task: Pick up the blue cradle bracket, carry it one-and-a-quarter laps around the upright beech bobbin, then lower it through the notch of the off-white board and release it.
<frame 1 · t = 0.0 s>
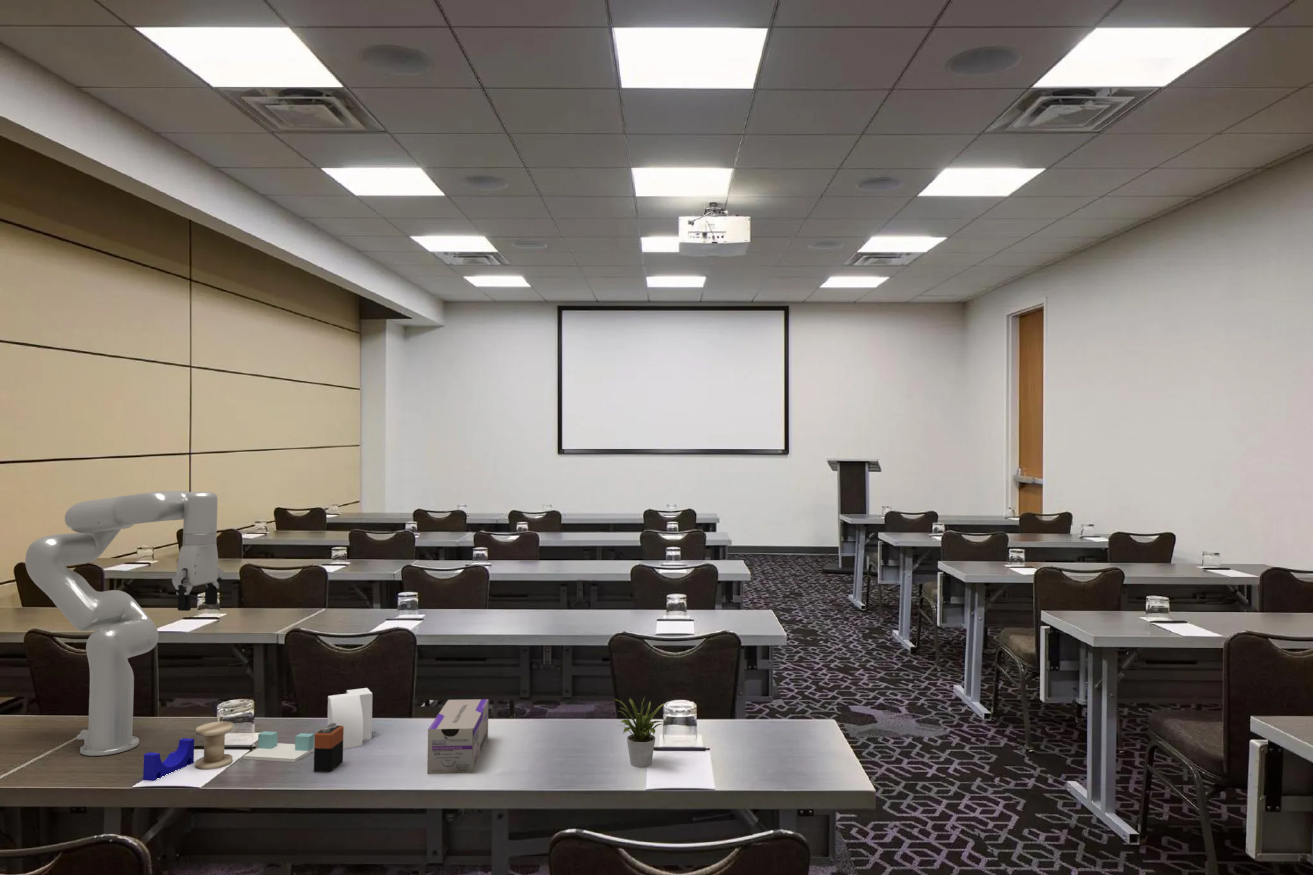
hand: (197, 607, 207), 37 cm above the table, fingers open, 9 cm apart
surgical sutures box: (459, 756, 204), on the table
battery: (328, 768, 196), on the table
bobbin: (213, 763, 198), on the table
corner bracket: (349, 741, 215), on the table
house plant: (635, 764, 199), on the table
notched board: (281, 753, 205), on the table
blue cradle bracket: (166, 772, 193), on the table
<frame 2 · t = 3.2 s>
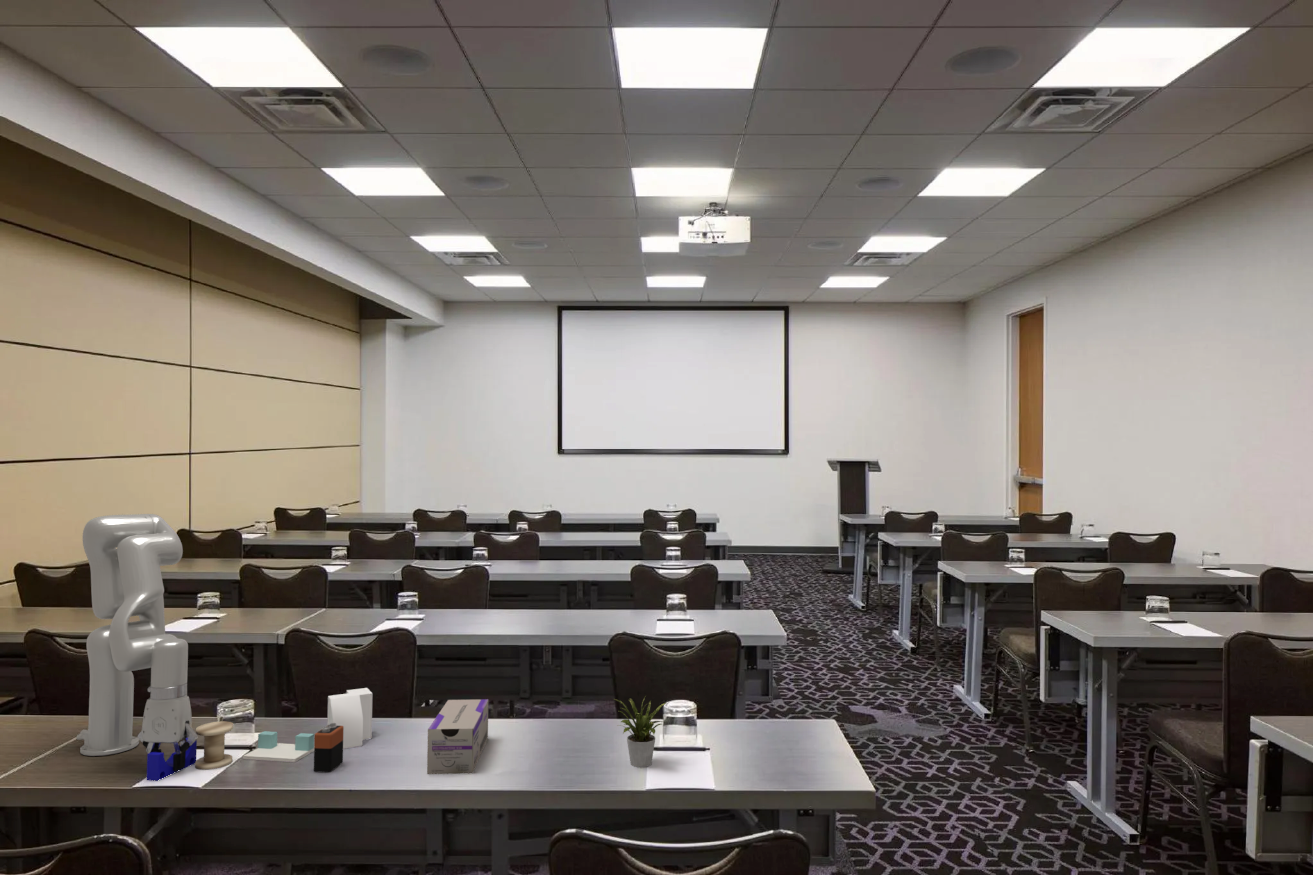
hand: (166, 767, 193), 1 cm above the table, fingers open, 5 cm apart
nothing on the table moved.
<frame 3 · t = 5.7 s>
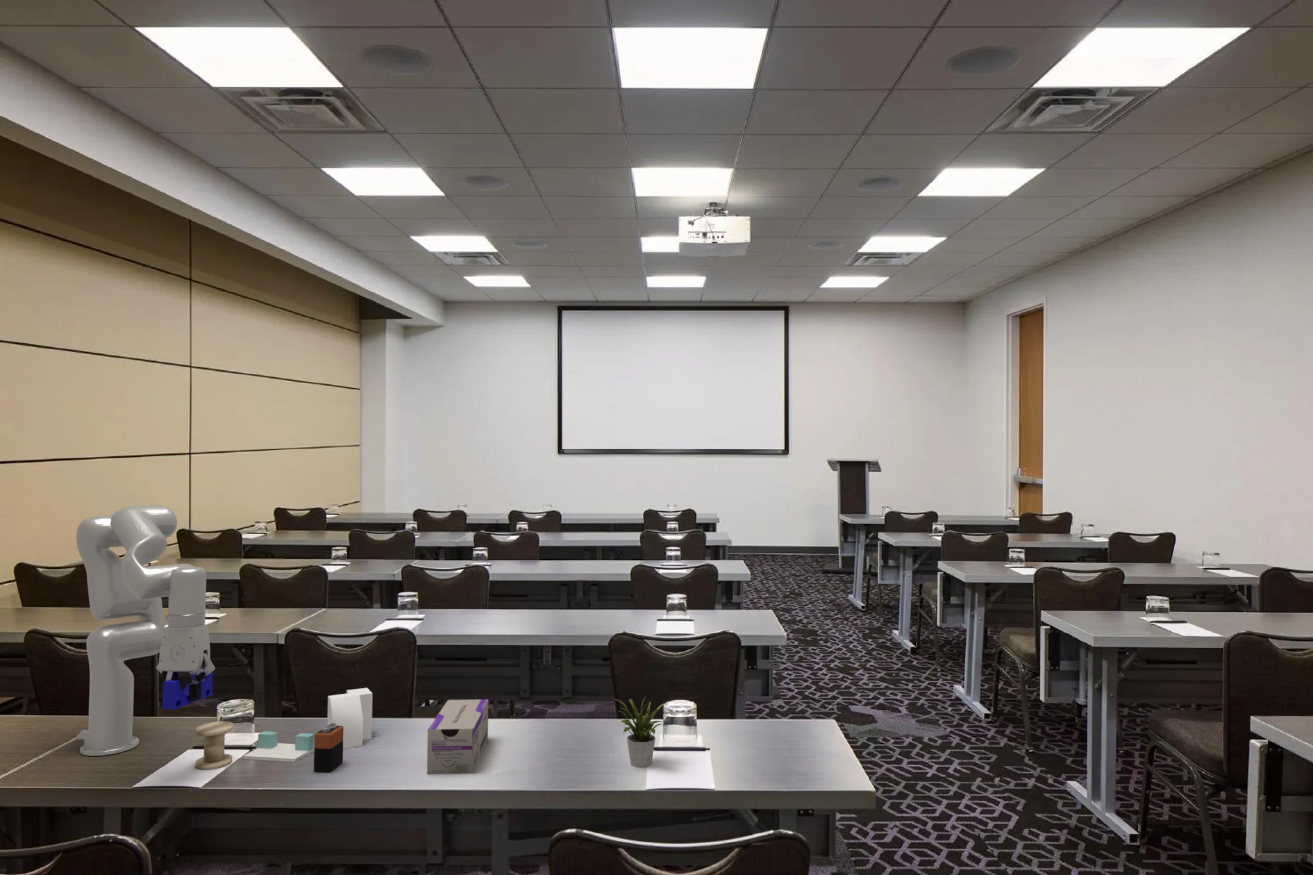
hand: (184, 698, 188), 19 cm above the table, fingers closed on blue cradle bracket, 4 cm apart
blue cradle bracket: (185, 702, 188), point 18 cm above the table, touching gripper
everything else where it was.
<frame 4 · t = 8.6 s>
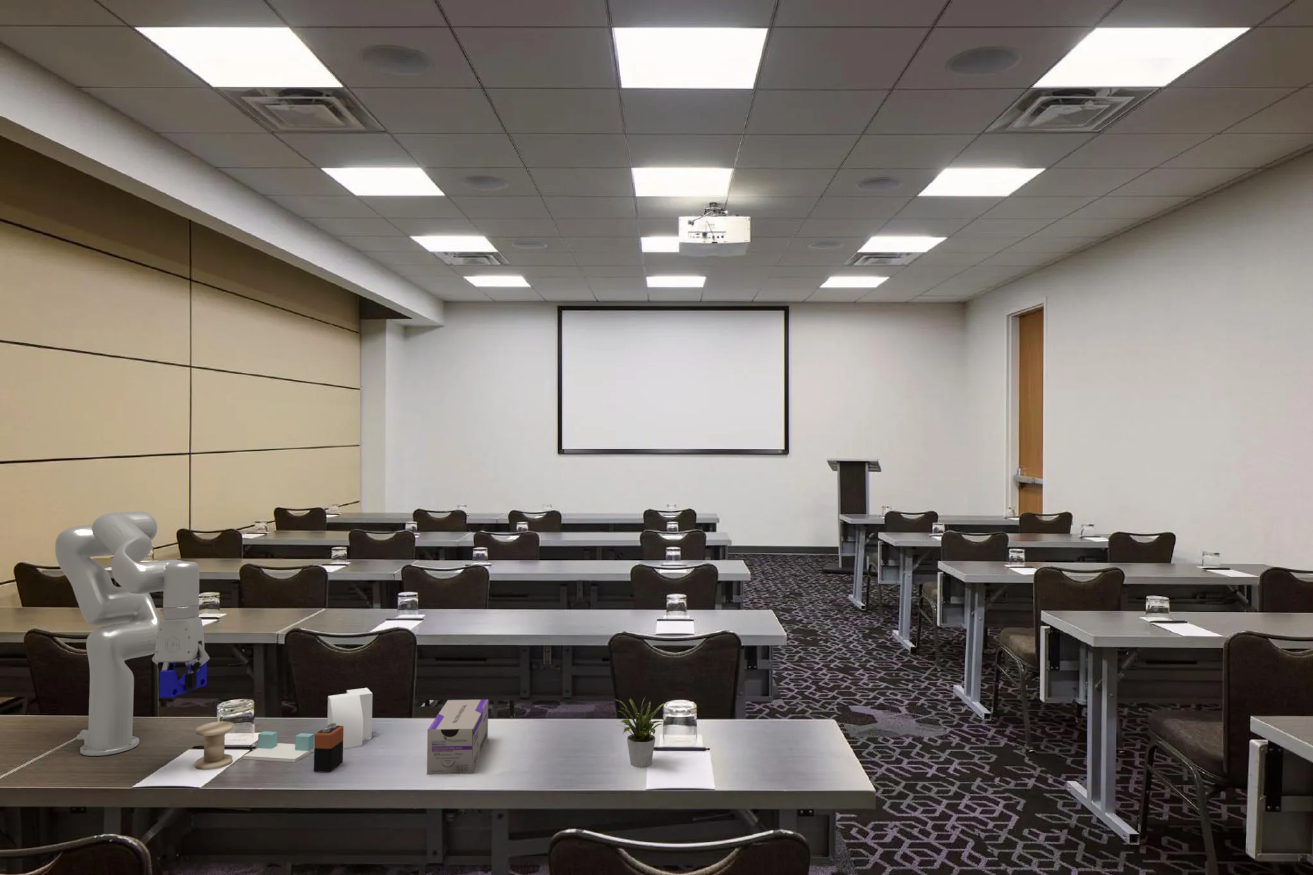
hand: (180, 688, 195), 19 cm above the table, fingers closed on blue cradle bracket, 4 cm apart
blue cradle bracket: (180, 691, 196), point 18 cm above the table, touching gripper
everything else where it was.
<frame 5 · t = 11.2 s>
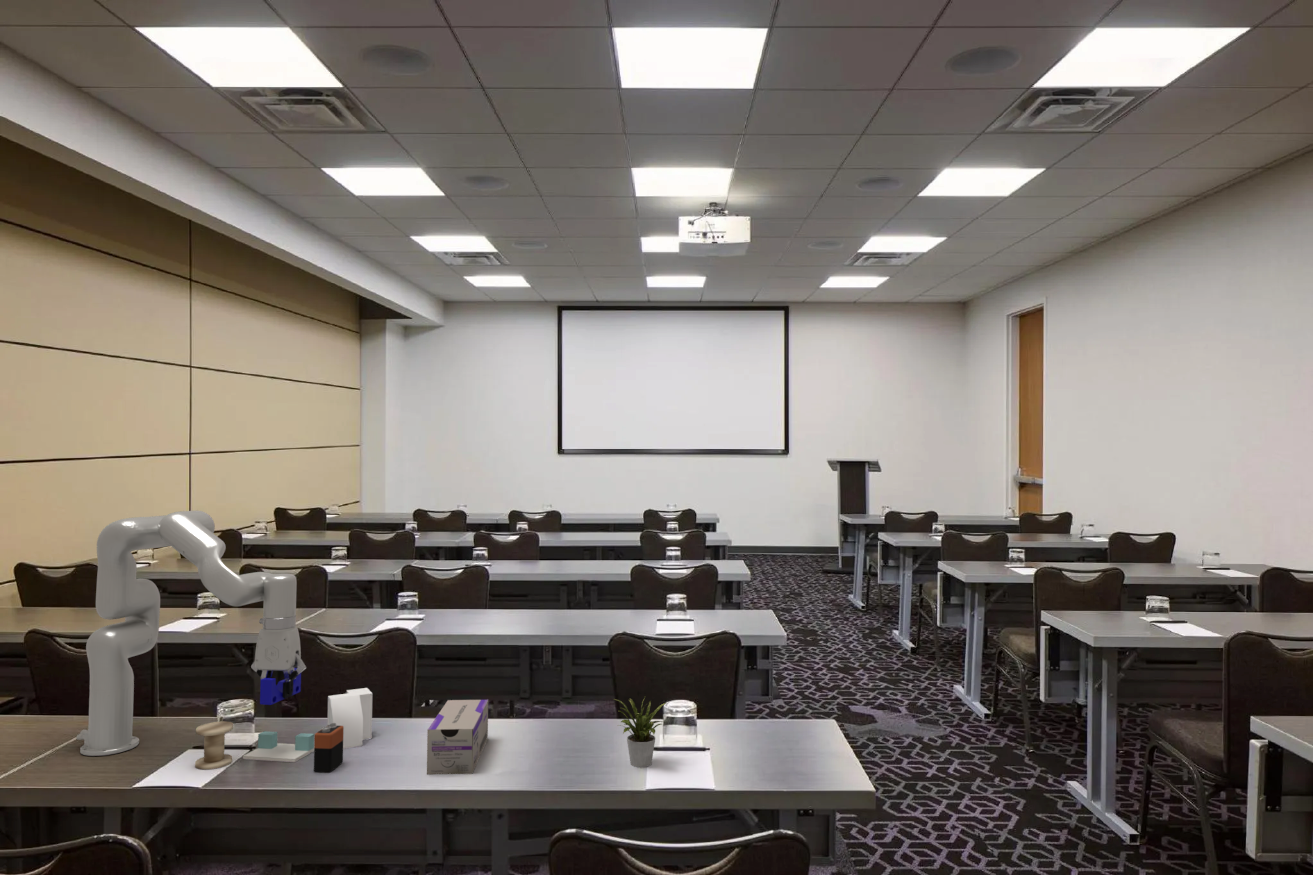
hand: (277, 695, 204), 15 cm above the table, fingers closed on blue cradle bracket, 4 cm apart
blue cradle bracket: (278, 698, 204), point 14 cm above the table, touching gripper
everything else where it was.
when the fingers open (2 cm above the table, at t = 13.7 s): blue cradle bracket drops 1 cm, resting on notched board.
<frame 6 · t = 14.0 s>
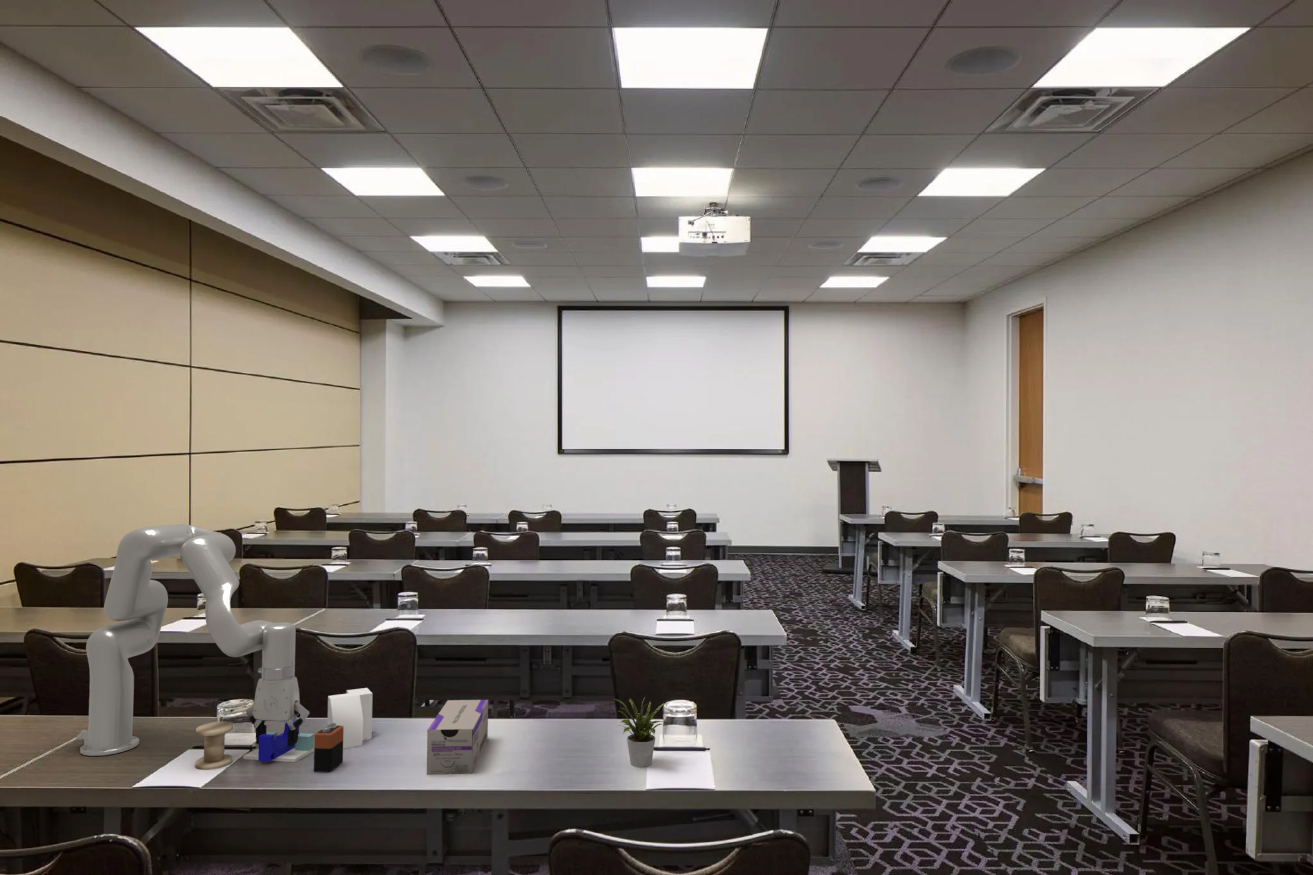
hand: (276, 743, 203), 3 cm above the table, fingers open, 8 cm apart
blue cradle bracket: (276, 753, 203), point 1 cm above the table, touching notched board
everything else where it was.
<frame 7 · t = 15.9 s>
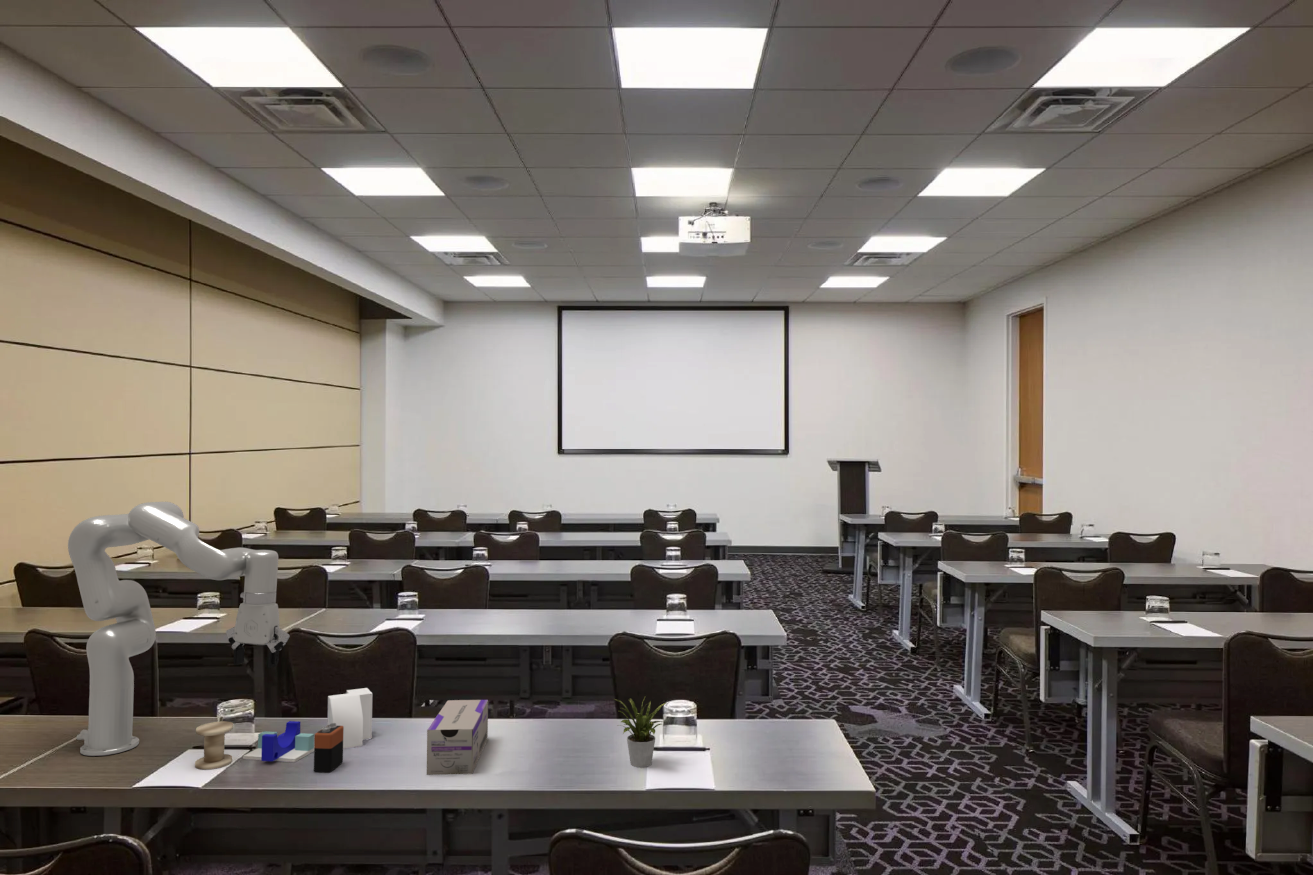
hand: (255, 665, 208), 22 cm above the table, fingers open, 9 cm apart
nothing on the table moved.
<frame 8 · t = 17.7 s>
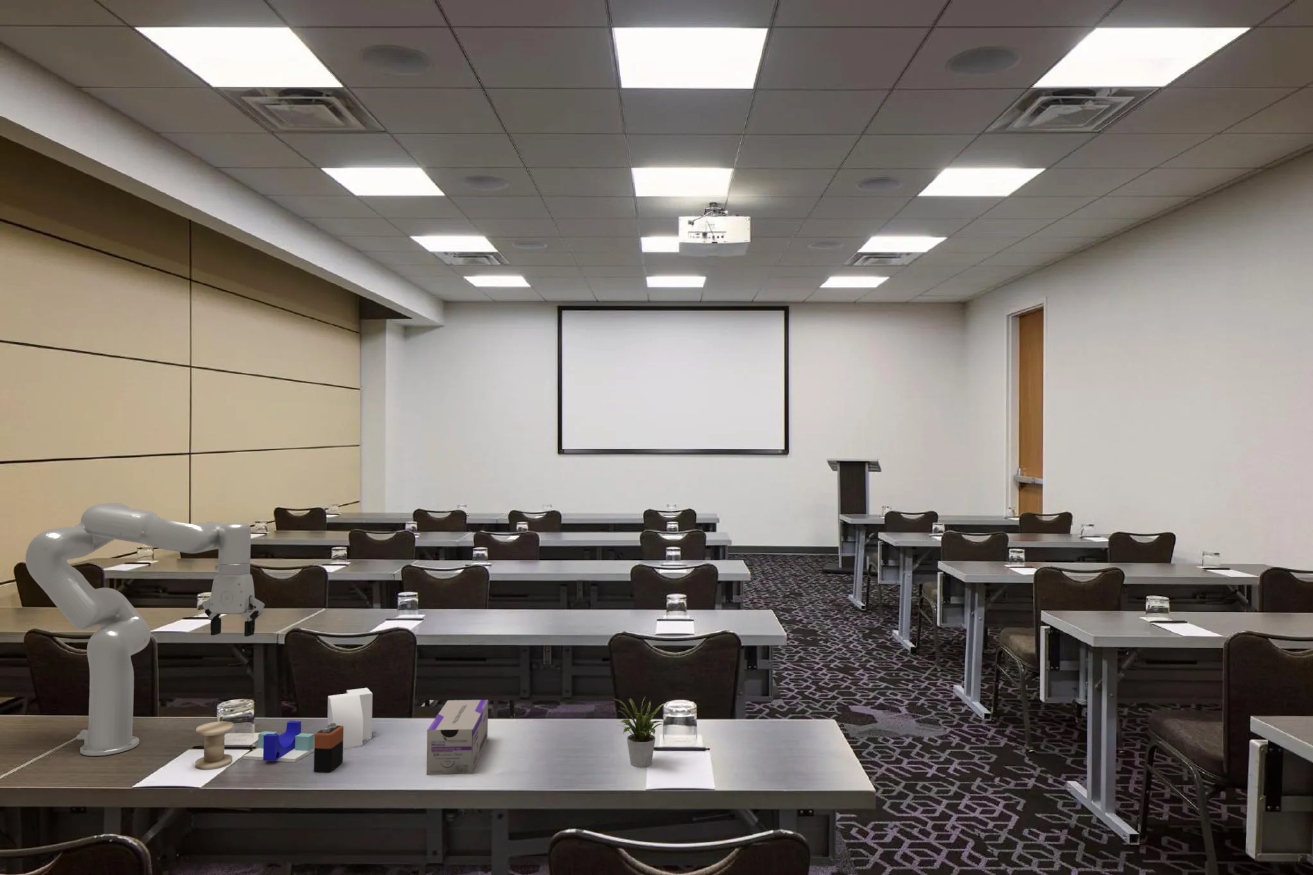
hand: (232, 634, 214), 28 cm above the table, fingers open, 9 cm apart
nothing on the table moved.
at the end: blue cradle bracket 0.9 cm from the target spot on the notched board, point 0.6 cm above the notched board's base; blue cradle bracket tilted 0°; the gripper is holding nothing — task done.
